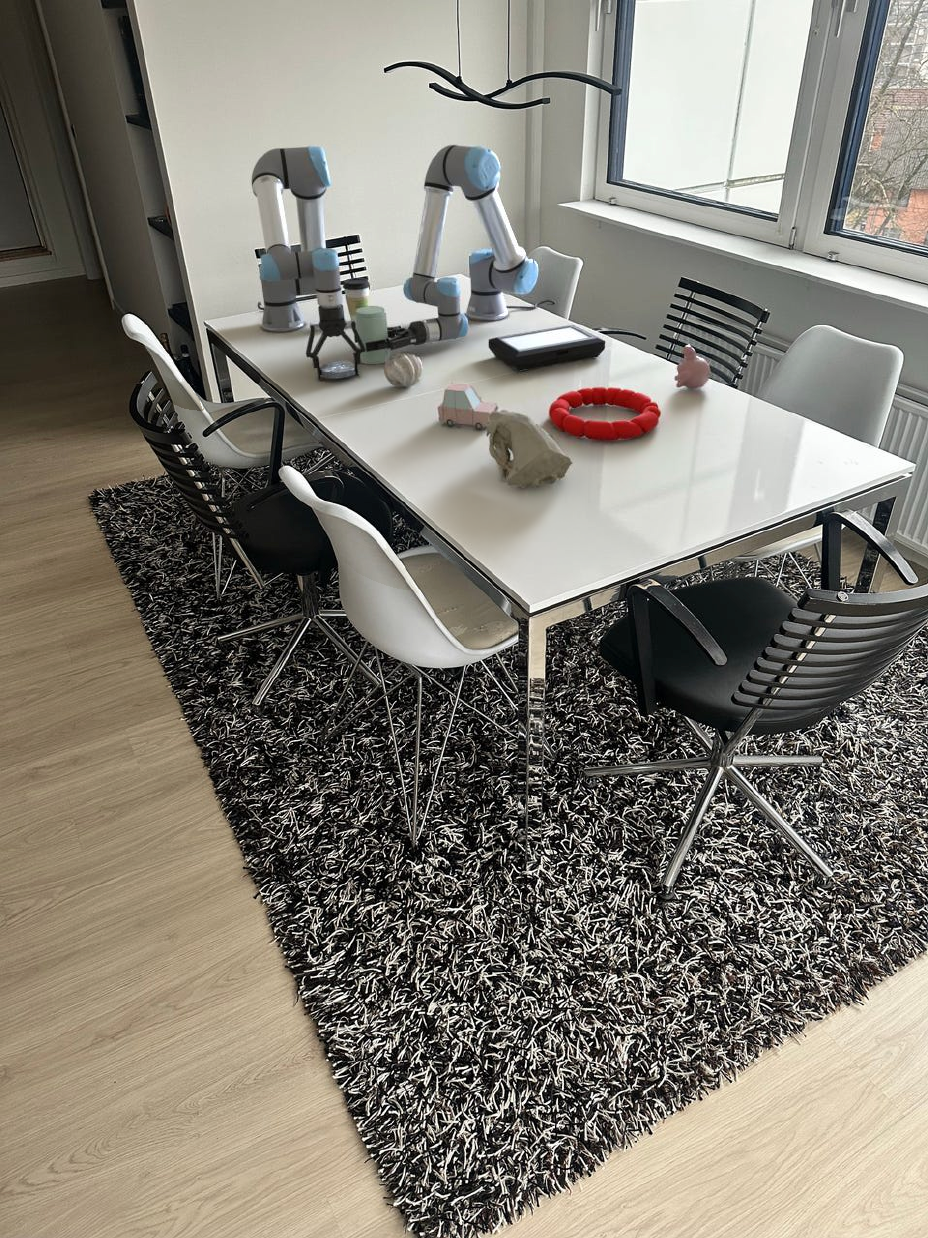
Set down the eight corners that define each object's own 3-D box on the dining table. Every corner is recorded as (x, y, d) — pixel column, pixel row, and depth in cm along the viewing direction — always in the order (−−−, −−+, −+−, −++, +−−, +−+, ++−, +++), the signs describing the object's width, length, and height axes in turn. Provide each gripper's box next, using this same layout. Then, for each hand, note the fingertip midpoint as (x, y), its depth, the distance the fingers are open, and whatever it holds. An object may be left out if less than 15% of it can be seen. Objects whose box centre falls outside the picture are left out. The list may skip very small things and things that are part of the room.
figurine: (665, 387, 264) (669, 347, 257) (693, 380, 268) (698, 340, 261) (686, 396, 257) (690, 355, 250) (714, 388, 262) (720, 348, 255)
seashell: (376, 385, 272) (373, 353, 266) (419, 376, 278) (418, 344, 272) (390, 395, 265) (387, 362, 259) (434, 385, 270) (433, 353, 265)
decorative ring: (589, 435, 224) (684, 402, 234) (527, 398, 247) (617, 369, 256) (589, 461, 229) (683, 427, 238) (529, 422, 251) (617, 393, 260)
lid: (322, 380, 273) (321, 374, 272) (318, 368, 282) (317, 362, 281) (358, 376, 275) (357, 370, 274) (353, 364, 284) (352, 359, 283)
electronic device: (516, 354, 273) (488, 336, 289) (516, 374, 277) (488, 355, 292) (605, 338, 284) (574, 322, 299) (604, 357, 287) (573, 341, 302)
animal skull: (496, 517, 219) (521, 479, 201) (463, 429, 225) (484, 384, 207) (557, 503, 225) (586, 465, 206) (523, 417, 231) (549, 373, 212)
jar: (378, 352, 299) (373, 303, 290) (395, 359, 293) (392, 309, 284) (353, 359, 294) (348, 309, 285) (370, 366, 288) (366, 316, 278)
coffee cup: (372, 326, 323) (368, 283, 314) (345, 327, 323) (340, 284, 315) (374, 318, 331) (371, 276, 322) (348, 319, 331) (344, 277, 323)
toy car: (488, 432, 240) (488, 396, 234) (436, 426, 244) (434, 390, 239) (499, 419, 247) (499, 384, 241) (448, 413, 252) (447, 379, 246)
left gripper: (291, 311, 262) (301, 384, 274) (370, 304, 265) (377, 376, 278) (290, 304, 268) (300, 376, 280) (367, 298, 272) (373, 368, 284)
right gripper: (437, 352, 290) (373, 364, 282) (410, 334, 307) (349, 344, 299) (436, 329, 285) (371, 340, 278) (409, 312, 302) (347, 322, 295)
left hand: (338, 376), depth 279 cm, fingers closed on lid, 11 cm apart
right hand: (360, 342), depth 288 cm, fingers closed on jar, 10 cm apart
